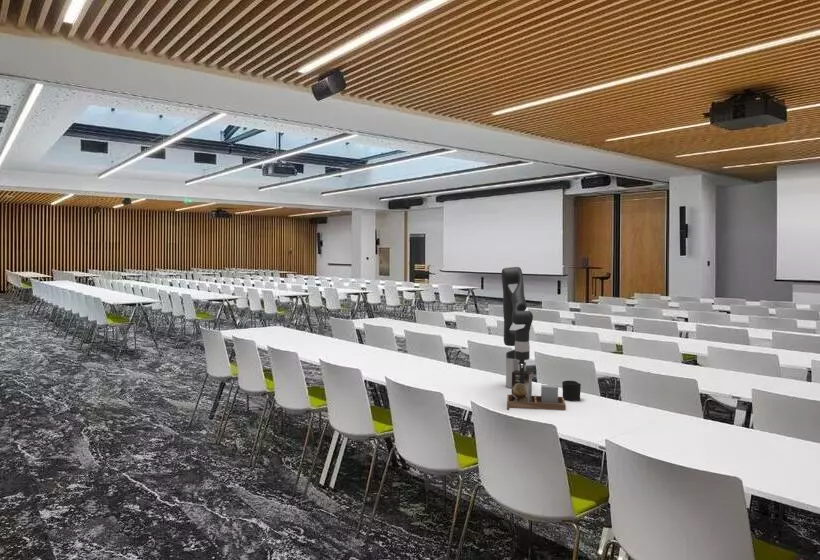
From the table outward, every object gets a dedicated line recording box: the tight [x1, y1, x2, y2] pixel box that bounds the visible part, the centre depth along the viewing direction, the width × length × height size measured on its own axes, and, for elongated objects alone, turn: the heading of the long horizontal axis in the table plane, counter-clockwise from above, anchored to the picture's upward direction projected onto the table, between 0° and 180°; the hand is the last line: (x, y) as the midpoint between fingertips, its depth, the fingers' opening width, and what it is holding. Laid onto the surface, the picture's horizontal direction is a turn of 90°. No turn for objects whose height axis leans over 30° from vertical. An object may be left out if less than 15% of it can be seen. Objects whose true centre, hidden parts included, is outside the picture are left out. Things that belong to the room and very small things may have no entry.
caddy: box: [506, 394, 567, 411], centre depth 296 cm, size 15×28×4 cm, turn 80°
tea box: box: [540, 384, 559, 404], centre depth 295 cm, size 5×8×10 cm, turn 80°
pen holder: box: [561, 380, 582, 402], centre depth 307 cm, size 9×9×10 cm
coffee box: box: [511, 370, 533, 402], centre depth 297 cm, size 9×6×16 cm
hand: (521, 381), depth 297 cm, fingers closed on coffee box, 7 cm apart
